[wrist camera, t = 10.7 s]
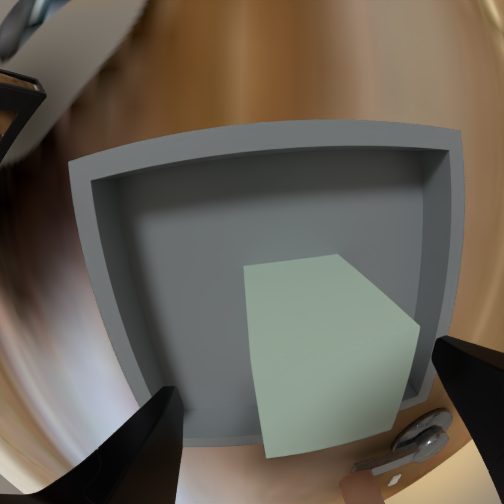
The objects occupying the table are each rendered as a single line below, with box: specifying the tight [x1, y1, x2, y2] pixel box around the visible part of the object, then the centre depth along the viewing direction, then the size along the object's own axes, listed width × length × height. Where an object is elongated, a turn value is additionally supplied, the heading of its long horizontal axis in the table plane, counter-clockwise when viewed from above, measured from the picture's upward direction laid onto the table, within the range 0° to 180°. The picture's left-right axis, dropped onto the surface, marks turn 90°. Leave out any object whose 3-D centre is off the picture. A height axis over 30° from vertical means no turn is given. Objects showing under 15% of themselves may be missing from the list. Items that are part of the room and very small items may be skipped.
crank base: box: [387, 408, 453, 486], centre depth 20 cm, size 7×16×1 cm, turn 6°
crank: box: [339, 426, 449, 504], centre depth 15 cm, size 12×4×6 cm, turn 96°
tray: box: [68, 120, 465, 447], centre depth 13 cm, size 17×16×3 cm
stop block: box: [243, 254, 420, 458], centre depth 10 cm, size 4×4×7 cm
